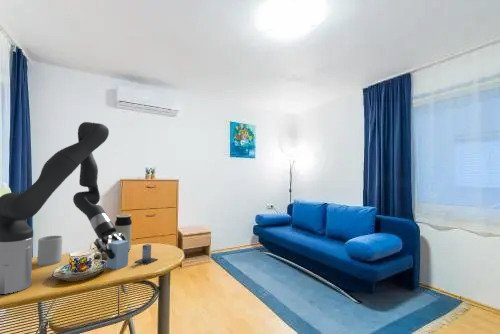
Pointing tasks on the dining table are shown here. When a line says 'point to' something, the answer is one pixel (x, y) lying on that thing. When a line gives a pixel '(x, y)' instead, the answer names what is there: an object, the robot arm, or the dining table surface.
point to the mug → (49, 250)
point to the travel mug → (124, 226)
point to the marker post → (146, 255)
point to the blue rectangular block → (118, 254)
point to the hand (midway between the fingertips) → (120, 255)
